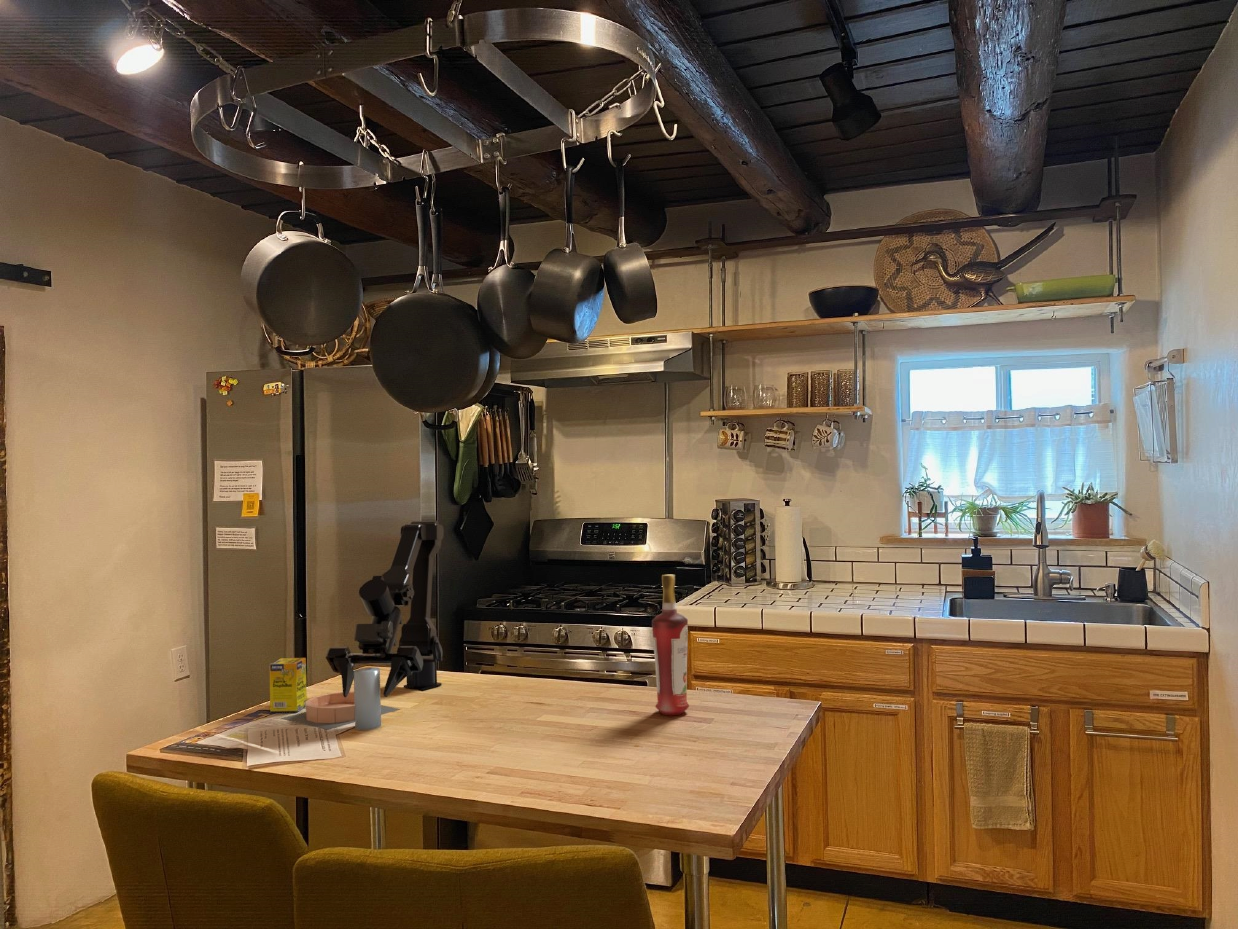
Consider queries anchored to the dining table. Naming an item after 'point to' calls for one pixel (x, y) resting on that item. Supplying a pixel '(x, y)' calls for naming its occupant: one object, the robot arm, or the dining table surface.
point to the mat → (302, 719)
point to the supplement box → (287, 685)
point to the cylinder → (367, 698)
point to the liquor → (670, 653)
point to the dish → (331, 708)
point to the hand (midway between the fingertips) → (364, 696)
